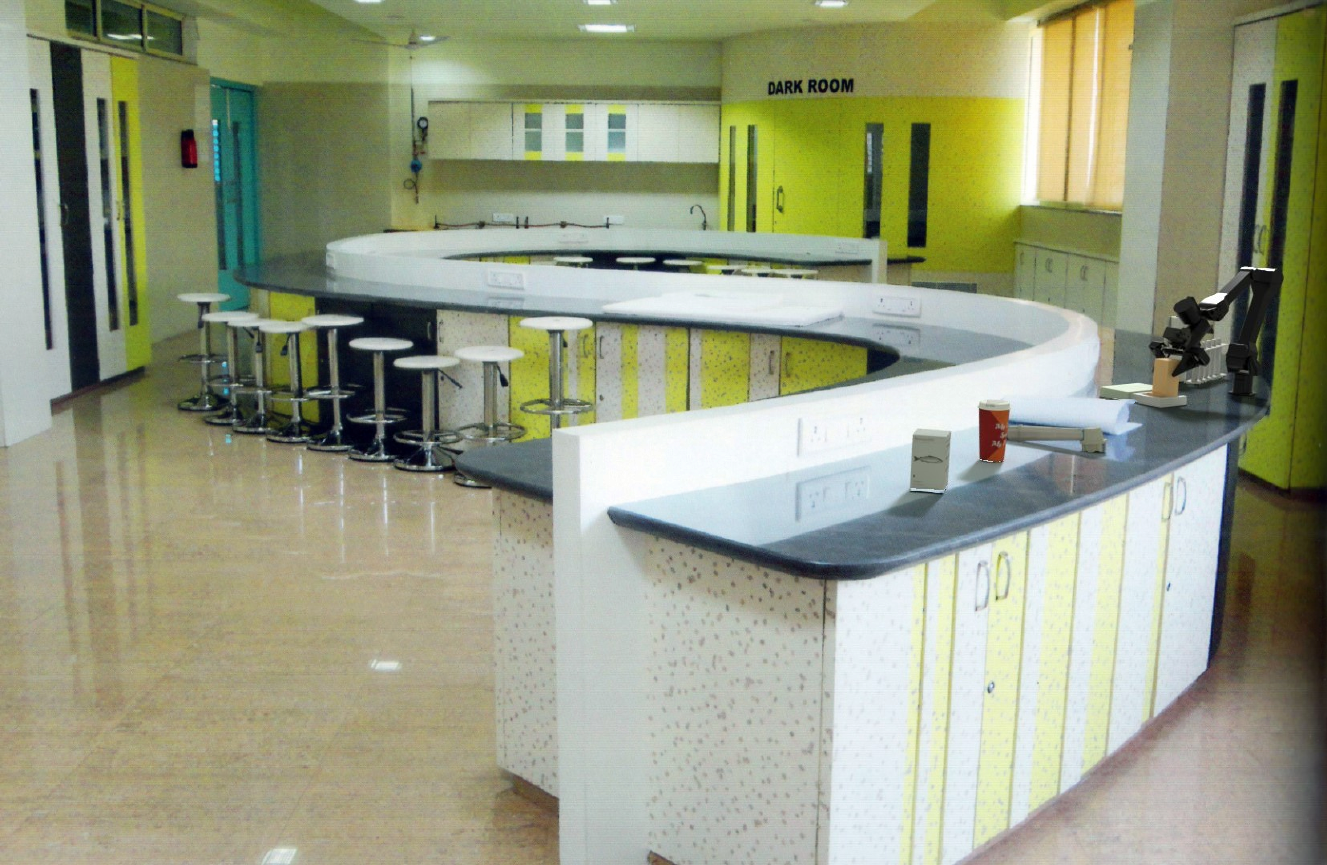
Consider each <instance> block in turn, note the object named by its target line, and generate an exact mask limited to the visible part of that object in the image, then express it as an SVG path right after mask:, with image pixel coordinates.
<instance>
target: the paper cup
mask: <svg viewBox="0 0 1327 865" xmlns="http://www.w3.org/2000/svg"><path fill="white" fill-rule="evenodd" d="M977 408H978V448H979V449H978V452H979V453H978V454H979V460H980V459H982V460H988V461H993V462H999V461H1003V460H1004V461H1005V454H1006V447H1007V440H1006V439H1007V430H1008V426H1009V422H1010V414H1011V412H1010V411H1011V410H1012V406H1011V404H1010V401H1009V400H1001V399H982V400H980V401H979V403H978V405H977ZM1004 461H1003V462H1004ZM999 463H1000V462H999Z"/></svg>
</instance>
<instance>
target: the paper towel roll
mask: <svg viewBox="0 0 1327 865" xmlns="http://www.w3.org/2000/svg"><path fill="white" fill-rule="evenodd" d="M1164 323H1165V324H1164V329H1165V328H1166V327H1172V328H1178V329H1182V328H1183V327H1184V328H1186V327H1187V326H1188V325H1185V324H1183V323H1182V322H1181V320H1180V319H1179V318H1178V316H1177V315H1174V316H1173V315H1172V316H1171V315H1170V316H1165V322H1164ZM1169 341H1170V340H1168V339H1166V338H1163V342H1164V343H1165V344H1166V346H1167V347H1170V348H1172V345H1170V344H1169V343H1168V342H1169ZM1169 358H1172V359H1178V360H1181V359H1182V357H1179V356H1176V355H1170V357H1169ZM1186 379H1187V371H1186V372H1184V373H1182V374H1180V375H1179V382H1180V383H1181V382H1184V381H1187V380H1186Z"/></svg>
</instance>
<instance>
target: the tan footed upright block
mask: <svg viewBox="0 0 1327 865" xmlns="http://www.w3.org/2000/svg"><path fill="white" fill-rule="evenodd" d="M1180 361H1181V360H1178V359H1172V358H1159V359H1155V358H1154V364H1153V366H1154V374H1153V378H1152V385H1153V387H1152V392H1147V395H1148V396H1153V397H1158V398H1165V397H1174V396H1179V395H1178V394H1179V375H1178V376H1176V377H1172V373H1173V371H1174V370H1175V368H1176V367H1177V365H1178V364H1179V362H1180Z"/></svg>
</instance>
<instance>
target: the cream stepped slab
mask: <svg viewBox="0 0 1327 865" xmlns="http://www.w3.org/2000/svg"><path fill="white" fill-rule="evenodd" d="M1152 387H1153V384H1146V383H1142V382H1135V383H1126V384H1114V385H1105V386H1104V385H1103V386H1100V387H1099V397H1101V398H1106V399H1110V398H1117V399H1135V400H1138V403H1137V404H1141V405H1145V406H1152V407H1155V408H1159V409H1160V408H1161V409H1162V408H1169V407H1176V406H1177V407H1178V406H1185V405H1187V400H1188V399H1187V398H1188V396H1187V395H1178V396H1174V397H1165V398H1158V397H1153V396H1148V395H1147V392H1152Z"/></svg>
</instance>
